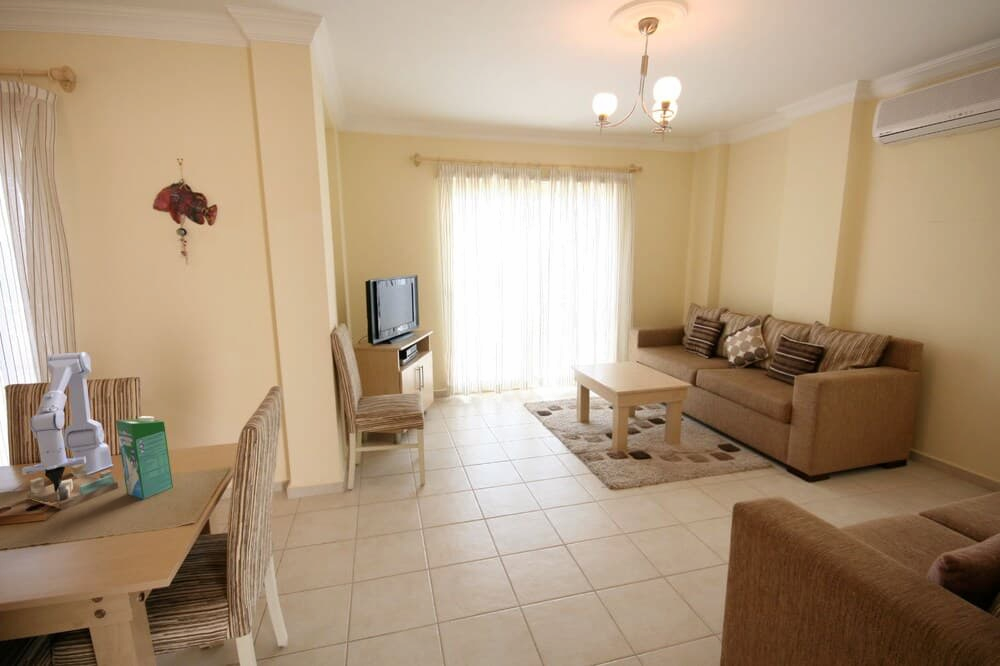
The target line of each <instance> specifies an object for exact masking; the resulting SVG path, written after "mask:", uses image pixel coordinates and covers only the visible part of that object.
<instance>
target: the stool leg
mask: <svg viewBox="0 0 1000 666" xmlns="http://www.w3.org/2000/svg"><path fill="white" fill-rule="evenodd" d="M68 479H69V478H68ZM63 480H64V481H63ZM63 480H61V483H60V485H59V488H58V490H57V495H58V500H65V499H67V498H69V497H70V494H71V492H72V489H73V482H72V479H69V480H66V479H63Z"/></svg>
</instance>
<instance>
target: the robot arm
mask: <svg viewBox="0 0 1000 666" xmlns="http://www.w3.org/2000/svg"><path fill="white" fill-rule="evenodd" d="M91 364H92V363H91V357H90V355H89V354H88V353H87V352H85V351H81V352H80V351H79V352H69V353H56V354H54V353H51V354H49V356H48V357H47V359H46V367H47V368H48V371H49V373H50V374H51V376H50V382H49V387H48V392H46V393H44V394H43V395H42V397H41V399H40V403H39V406H38V410H37V412H36V413H35V415H33V416H31V419H30V420H29V427H30V430H31V432H32V433H33V437H34V438H35V439H37V446H38V450H39V451H38V453H39V457H40V463H38V464H33V465H30V466H24V467H23V468H21V474H22V476H26V475H29V474H35V473H39V472H40V473H41V472H45V473H44V476H45V477H46V478H47V479H48V480H49V481H51V483H52V484H54V490H55V492H57V490H58V488H59V485H60V483H61V481H62V478H63V475H64V472H65V469H66V468H67V467H72V466H75V465H80V464H81V465H83V464H84V465H85V470H86V474H88V475H93V474H94V473H97V472H100V471H103V470H107V469H109V468H111V467H113V466H114V464H113V463H112V457H111V450H110V447H109V445H108V444H107V443H106V442H104V441H105V431H104V429H103V424H102V423H101V422H99V421H96V420H94V419H92V418H91V417H92V416H91V408H90V399H89V392H88V381H87V379H88V378H87V375H89V374H91V373H92V365H91ZM67 386H68V392H69V401H70V411H71V418H72V419H71V420H72V423H71V424H69V425H68V426H66V427H65V429H64V436H63V430H62V429H63V428H64V425H65V421H66V420H65V412H64V408H65V405H66V402H67V399H68V397H67V395H66V394H65V390H66V388H67ZM66 449H68V450H69V451H70V452H72V455H73V457H71V458H67V453H66ZM70 474H71V475H73V470H72V471H71V472H70Z"/></svg>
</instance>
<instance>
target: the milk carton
mask: <svg viewBox="0 0 1000 666" xmlns="http://www.w3.org/2000/svg"><path fill="white" fill-rule="evenodd" d="M115 423H116V429H117V431H116V432H117V435H118V436H117V437H118V444H119V450H120V456H121V463H122V469H123V475H124V482H125V483H124V484H125V488H126V489H125V491H126V494H127V495H129V496H132V497H135V498H138V499H141V500H144V499H147V498H149V497H152V496H154V495H156V494H158V493H161V492H163V491H167V490H168V489H170V488H173V487H174V484H173V477H172V469H171V464H170V463H171V462H170V456H169V447H168V440H167V432H166V426H165V425H166V424H165V421H162V420H157V419H155V417H154V416H151V415H149V416H148V415H144V416H143V415H142V416H139V417H138V418H133V419H131V418H130V419H119V420H117V419H116V420H115Z"/></svg>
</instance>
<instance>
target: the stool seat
mask: <svg viewBox="0 0 1000 666" xmlns="http://www.w3.org/2000/svg"><path fill="white" fill-rule="evenodd" d="M71 469H72V471H73V474H72V477H69V478H67V479H63V480H62V481H64V480H69V479H72V482H73V489H72V492H71V494H70V497H69V498H67V499H65V500H58V495H57V492H55V490H54V484H53V483H52V484H50V485H46V486H45V480H44V478H42V477H37V478H34V479H33V478H32V479H30V480H29V486H30V489H31V490H30V492H27V493H26V495H27V499H28V498H31V499H35V500H38V501H43V502H50V503H53V502H58V503H59V507H60V509H59V510H60V511H63V510H65V509H68V508H71V507H73V506H76V505H77V504H80V503H83V502H85V500H86V501H87V500H91V499H93V498H95V496H96V497H98V496H100V495H103V494H106V493H108V492H111V491H113V490H116V489H118V488H119V483H118V481H115V480H114V473H113V470H110V469H105V470H104V471H103V470H102V471H101V472H100V471H99V476H95V475H93V474H89V475H88V474H86V470H85V465H84V464H83V465H81V464H80V465H74V466H71ZM105 492H106V493H105ZM90 498H91V499H90Z"/></svg>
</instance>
